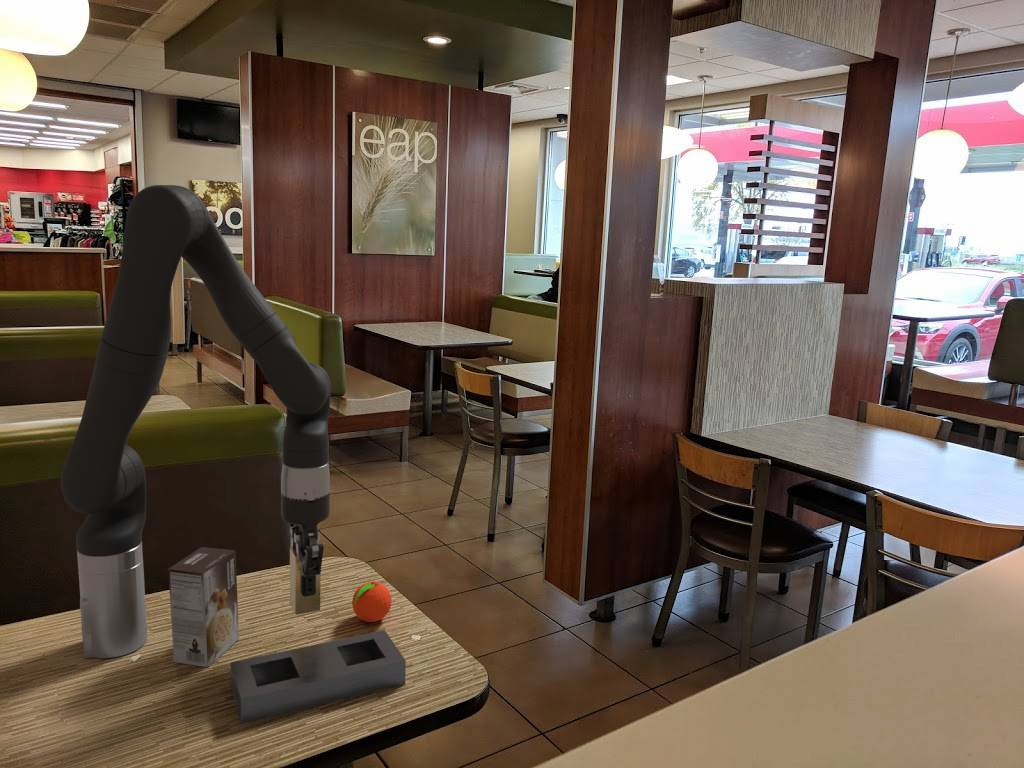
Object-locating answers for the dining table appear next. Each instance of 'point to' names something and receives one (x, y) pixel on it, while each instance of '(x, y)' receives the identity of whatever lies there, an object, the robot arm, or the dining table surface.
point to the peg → (296, 598)
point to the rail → (315, 675)
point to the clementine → (371, 601)
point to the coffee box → (203, 606)
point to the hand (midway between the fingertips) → (305, 588)
